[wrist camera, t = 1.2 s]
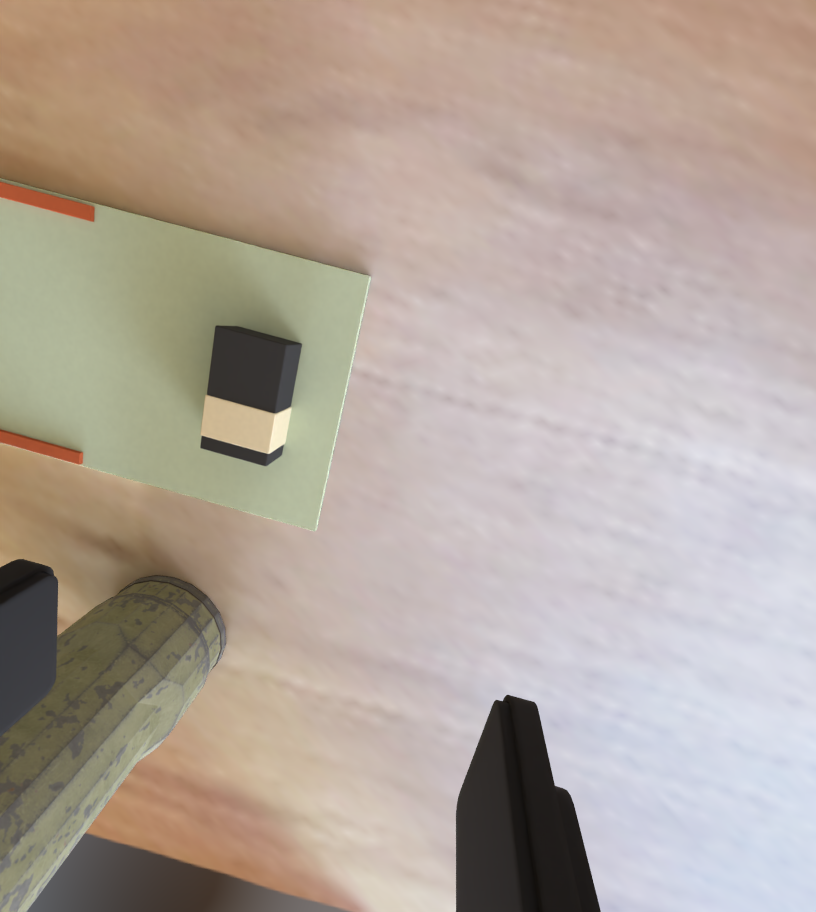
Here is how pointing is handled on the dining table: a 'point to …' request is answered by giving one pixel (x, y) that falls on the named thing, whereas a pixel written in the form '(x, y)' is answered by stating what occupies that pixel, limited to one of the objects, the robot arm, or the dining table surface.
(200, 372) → the desk mat
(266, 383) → the eraser
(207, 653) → the thermos
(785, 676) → the dining table surface
